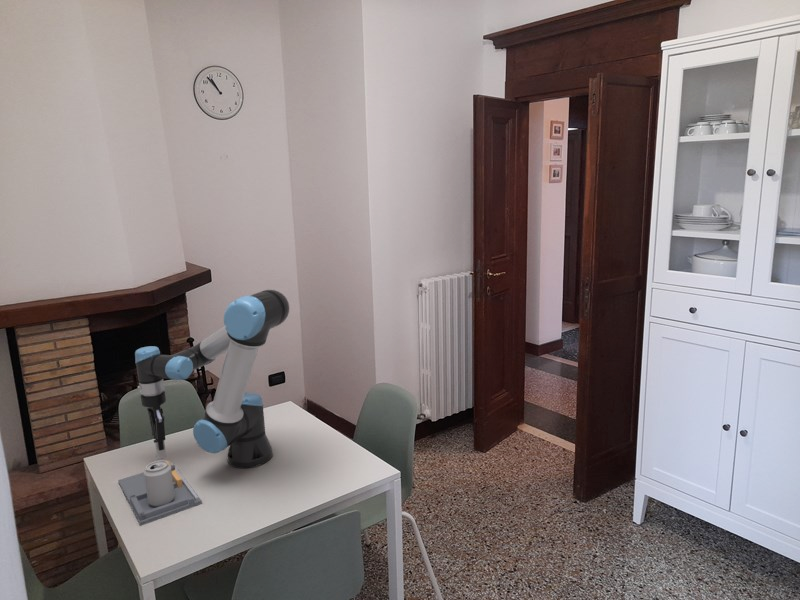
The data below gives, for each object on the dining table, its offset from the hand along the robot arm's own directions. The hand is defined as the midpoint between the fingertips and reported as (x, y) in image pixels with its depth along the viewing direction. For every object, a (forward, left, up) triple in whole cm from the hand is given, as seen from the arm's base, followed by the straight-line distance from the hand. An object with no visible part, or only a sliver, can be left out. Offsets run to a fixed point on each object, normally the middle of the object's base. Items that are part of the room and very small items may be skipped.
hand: (161, 457), depth 195 cm
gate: (-9, +9, -2) cm, 13 cm away
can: (-14, +24, -2) cm, 27 cm away
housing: (-9, +18, -3) cm, 20 cm away
